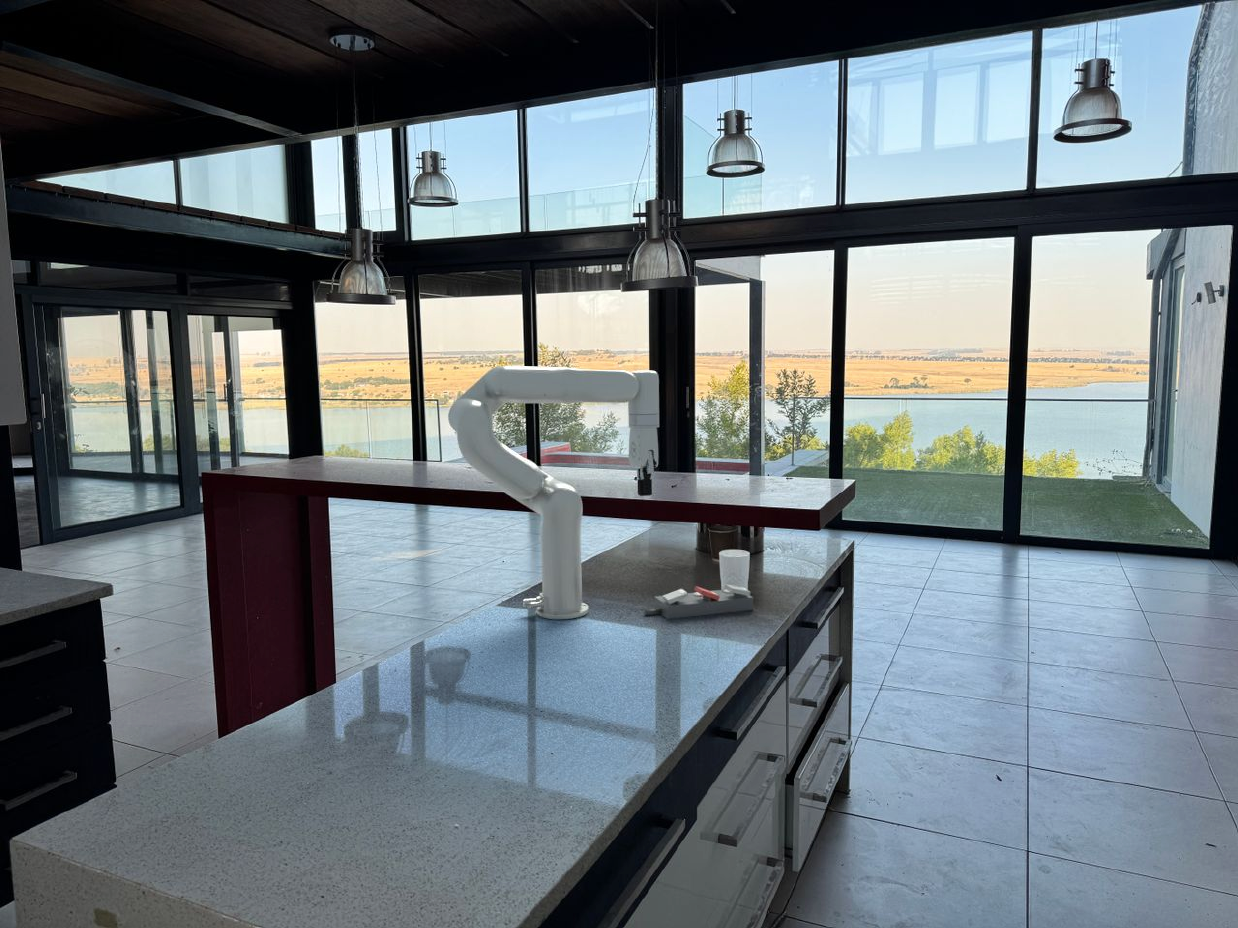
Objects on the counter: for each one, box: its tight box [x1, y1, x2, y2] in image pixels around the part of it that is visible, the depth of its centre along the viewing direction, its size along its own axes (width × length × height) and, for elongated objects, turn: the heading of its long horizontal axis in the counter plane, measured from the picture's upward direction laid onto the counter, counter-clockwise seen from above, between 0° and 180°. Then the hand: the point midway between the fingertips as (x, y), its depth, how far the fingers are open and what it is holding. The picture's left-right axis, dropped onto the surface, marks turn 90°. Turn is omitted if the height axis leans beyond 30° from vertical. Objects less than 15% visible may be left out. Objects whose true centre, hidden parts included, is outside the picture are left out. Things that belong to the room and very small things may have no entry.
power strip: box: [643, 589, 754, 620], centre depth 207 cm, size 26×9×4 cm, turn 107°
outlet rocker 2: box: [693, 585, 720, 600], centre depth 206 cm, size 5×4×1 cm
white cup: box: [718, 549, 751, 591], centre depth 224 cm, size 8×8×10 cm
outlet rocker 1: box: [662, 588, 689, 604], centre depth 203 cm, size 5×4×1 cm
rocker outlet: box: [725, 584, 751, 596], centre depth 208 cm, size 5×4×1 cm
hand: (644, 495), depth 212 cm, fingers closed
